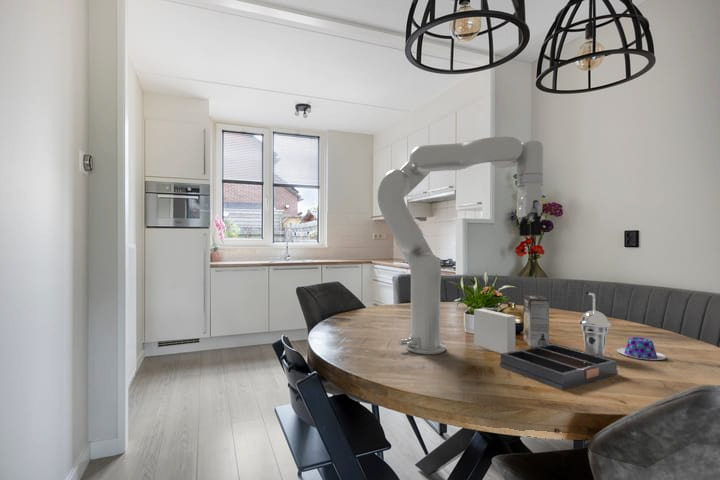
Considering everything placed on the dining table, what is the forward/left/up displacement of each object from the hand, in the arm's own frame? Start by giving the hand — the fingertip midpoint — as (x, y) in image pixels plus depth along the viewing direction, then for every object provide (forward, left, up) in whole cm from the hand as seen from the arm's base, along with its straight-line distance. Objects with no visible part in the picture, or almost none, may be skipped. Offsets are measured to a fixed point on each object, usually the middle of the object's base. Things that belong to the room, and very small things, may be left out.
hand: (529, 235), depth 114 cm
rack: (-7, -14, -37) cm, 40 cm away
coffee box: (+11, +6, -37) cm, 39 cm away
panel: (-7, +8, -37) cm, 39 cm away
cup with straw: (+15, -11, -37) cm, 42 cm away
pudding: (+29, -17, -38) cm, 50 cm away
